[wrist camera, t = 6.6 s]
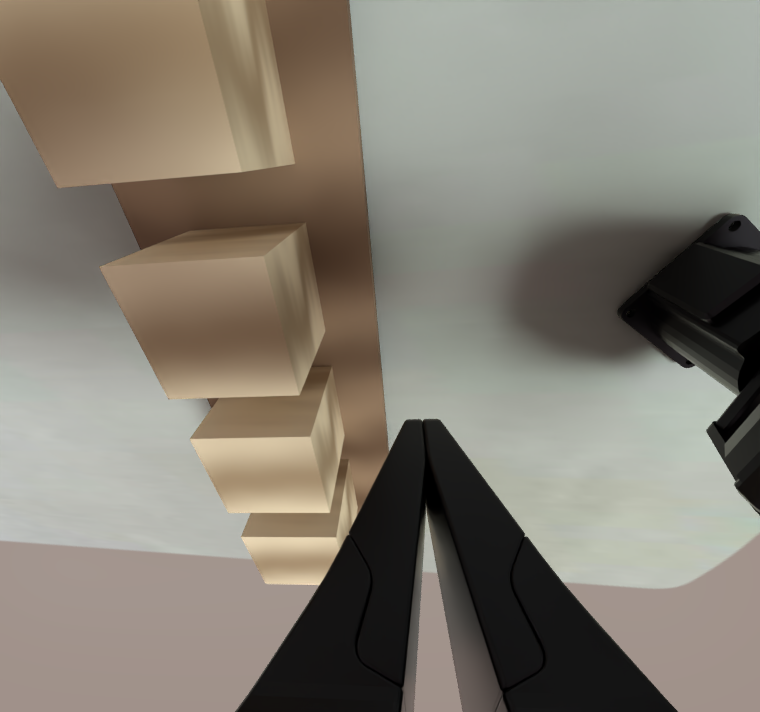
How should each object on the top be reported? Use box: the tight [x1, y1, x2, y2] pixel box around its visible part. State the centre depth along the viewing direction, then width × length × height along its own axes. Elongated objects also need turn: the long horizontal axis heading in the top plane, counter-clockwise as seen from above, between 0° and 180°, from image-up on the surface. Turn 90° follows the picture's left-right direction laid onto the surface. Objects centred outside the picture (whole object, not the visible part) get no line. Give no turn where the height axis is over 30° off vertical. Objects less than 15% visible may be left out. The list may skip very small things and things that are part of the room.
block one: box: [0, 0, 295, 188], centre depth 11 cm, size 6×6×6 cm
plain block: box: [190, 366, 345, 513], centre depth 20 cm, size 6×6×6 cm
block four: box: [241, 459, 358, 585], centre depth 25 cm, size 6×6×6 cm
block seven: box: [99, 222, 325, 399], centre depth 16 cm, size 6×6×6 cm
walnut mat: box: [111, 0, 389, 514], centre depth 21 cm, size 36×12×1 cm, turn 4°
